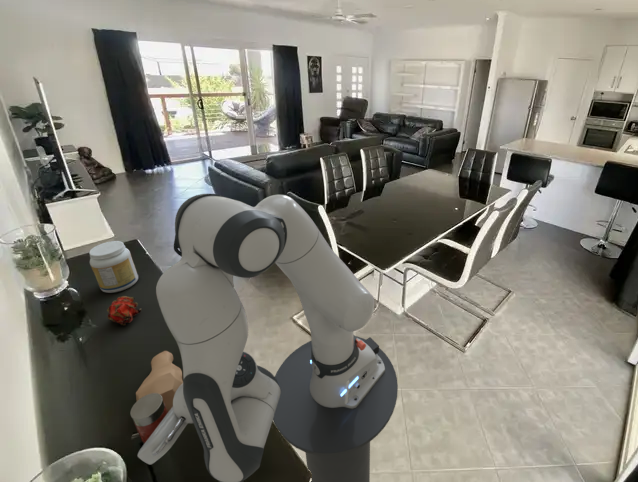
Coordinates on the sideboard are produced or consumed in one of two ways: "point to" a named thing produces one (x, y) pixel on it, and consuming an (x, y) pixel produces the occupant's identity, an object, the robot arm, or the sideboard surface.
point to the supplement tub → (113, 266)
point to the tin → (148, 414)
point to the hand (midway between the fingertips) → (169, 418)
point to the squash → (162, 379)
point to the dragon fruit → (123, 310)
